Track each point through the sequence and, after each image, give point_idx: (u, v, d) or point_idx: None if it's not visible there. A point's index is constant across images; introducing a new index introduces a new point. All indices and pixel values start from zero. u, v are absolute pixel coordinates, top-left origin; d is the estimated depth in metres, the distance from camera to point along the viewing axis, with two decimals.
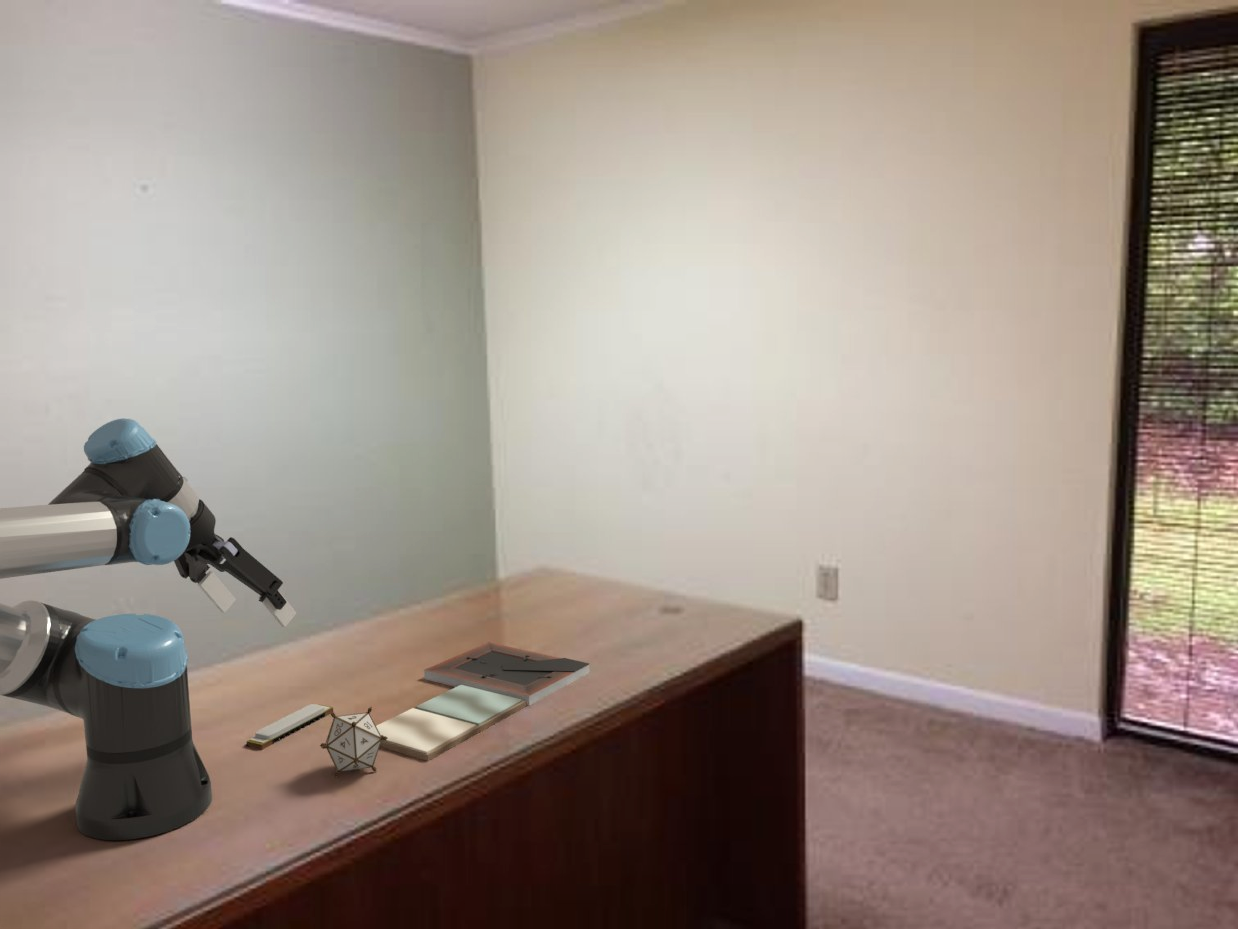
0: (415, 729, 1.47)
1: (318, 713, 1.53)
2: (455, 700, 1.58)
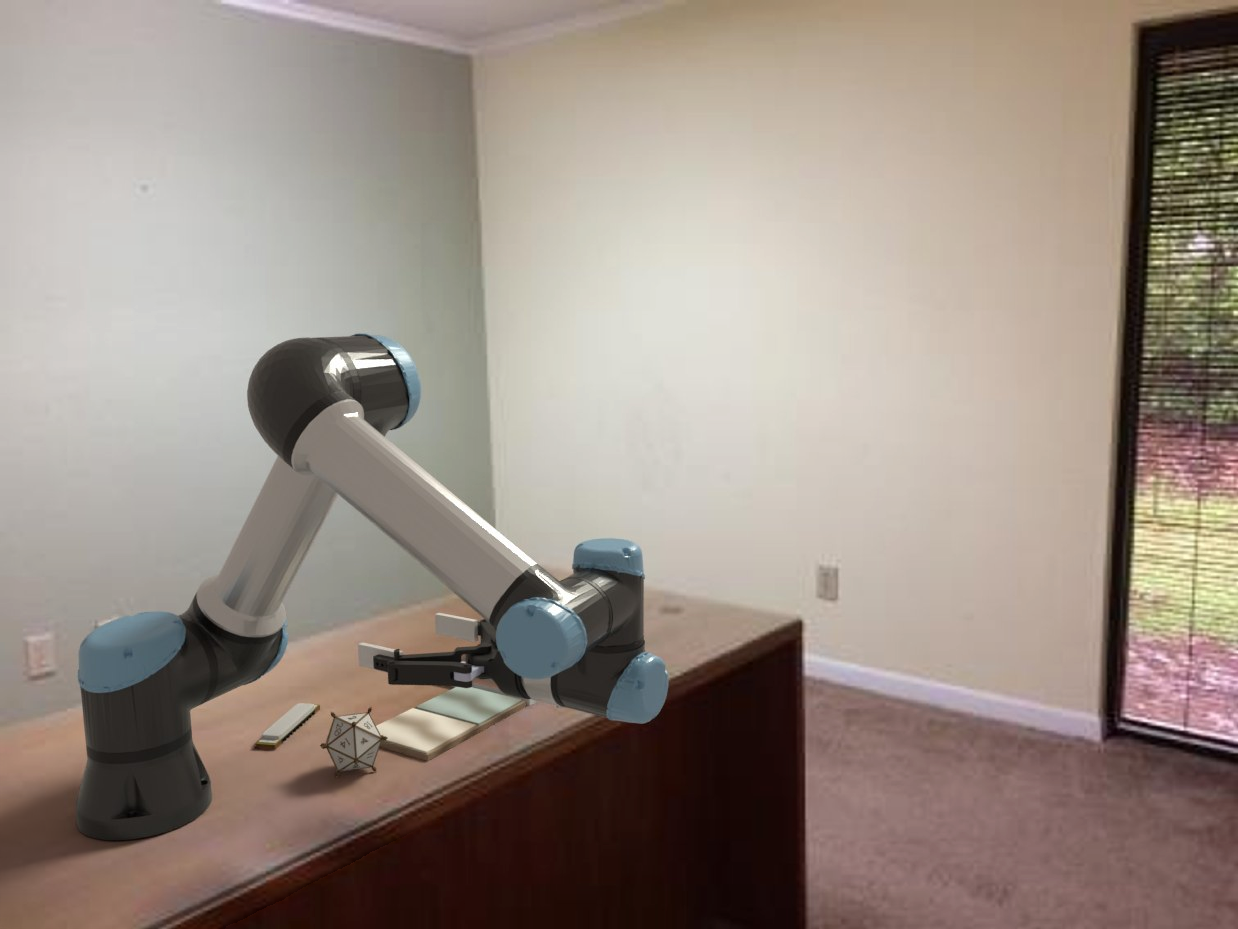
0: (415, 729, 1.47)
1: (310, 711, 1.54)
2: (455, 700, 1.58)
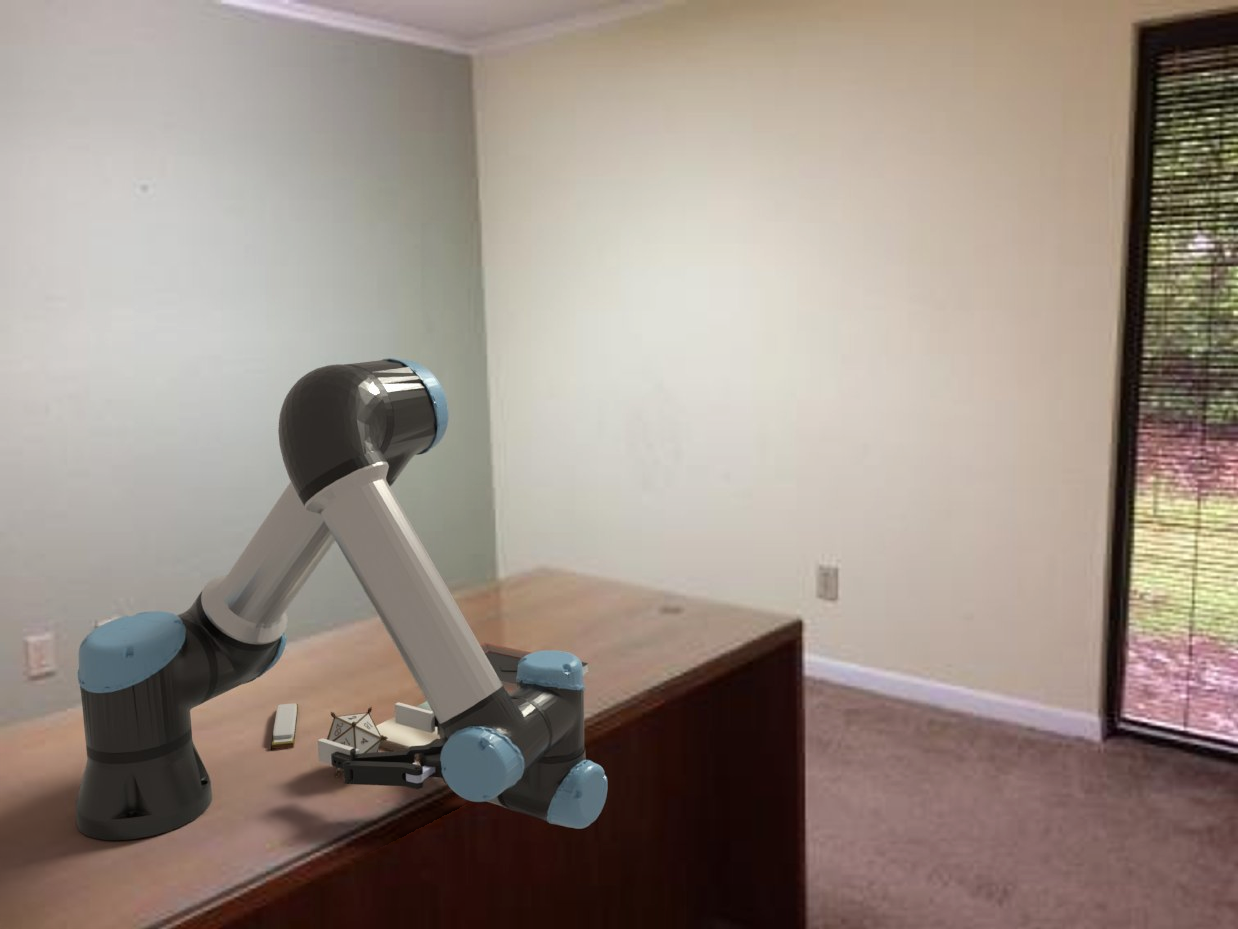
0: (415, 729, 1.47)
1: (296, 710, 1.55)
2: None
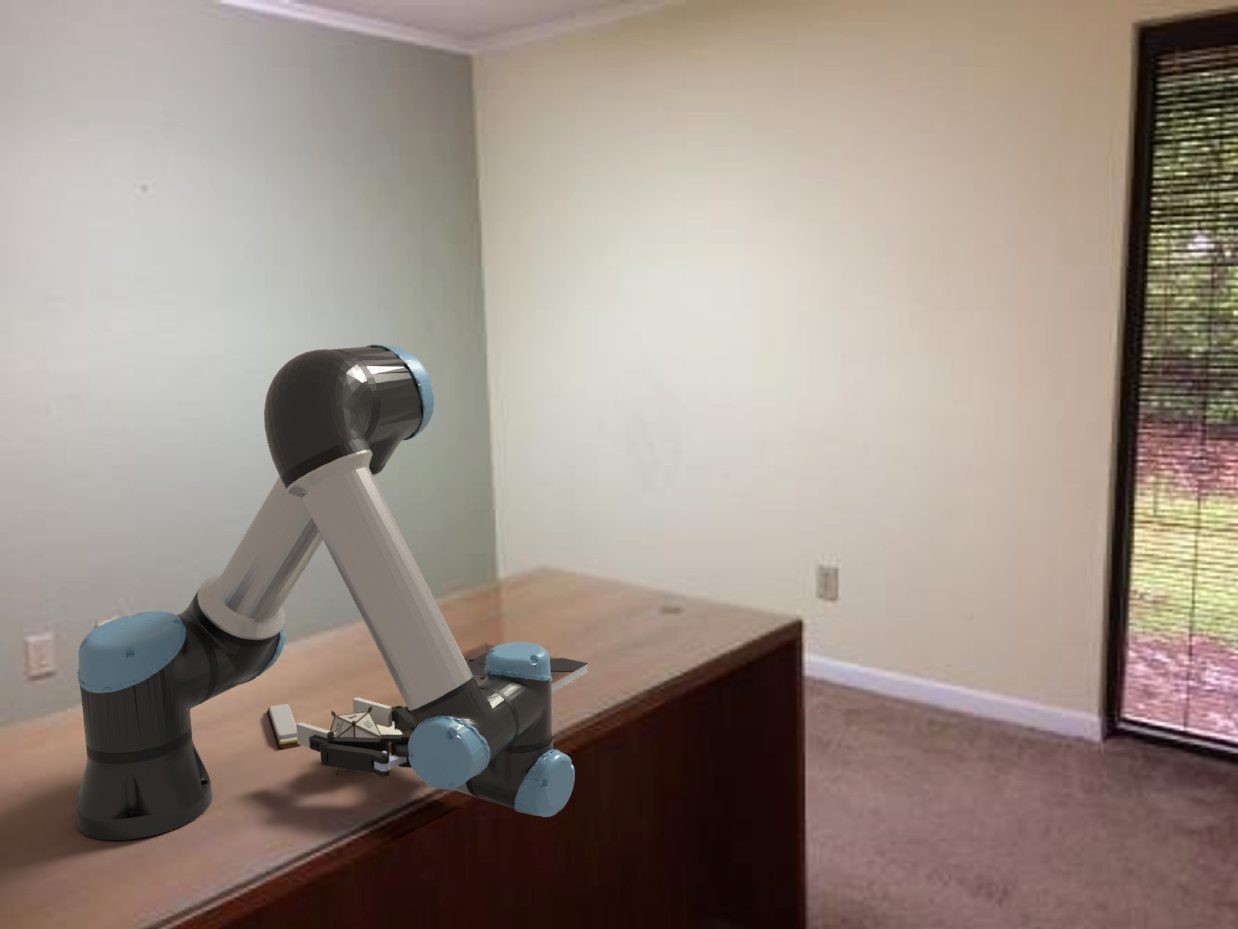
0: None
1: None
2: None
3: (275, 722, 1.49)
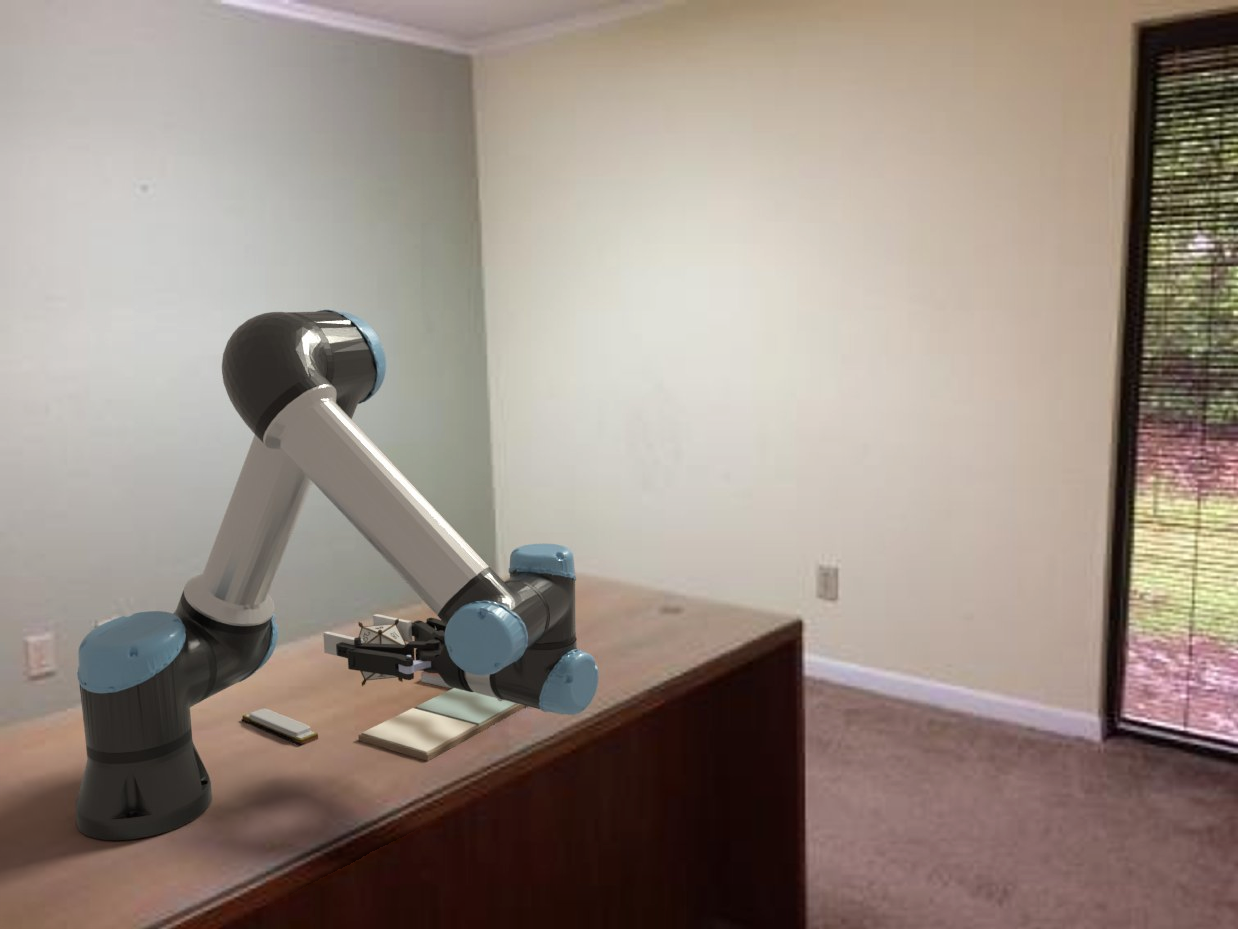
0: (415, 729, 1.47)
1: None
2: (455, 700, 1.58)
3: (275, 723, 1.48)
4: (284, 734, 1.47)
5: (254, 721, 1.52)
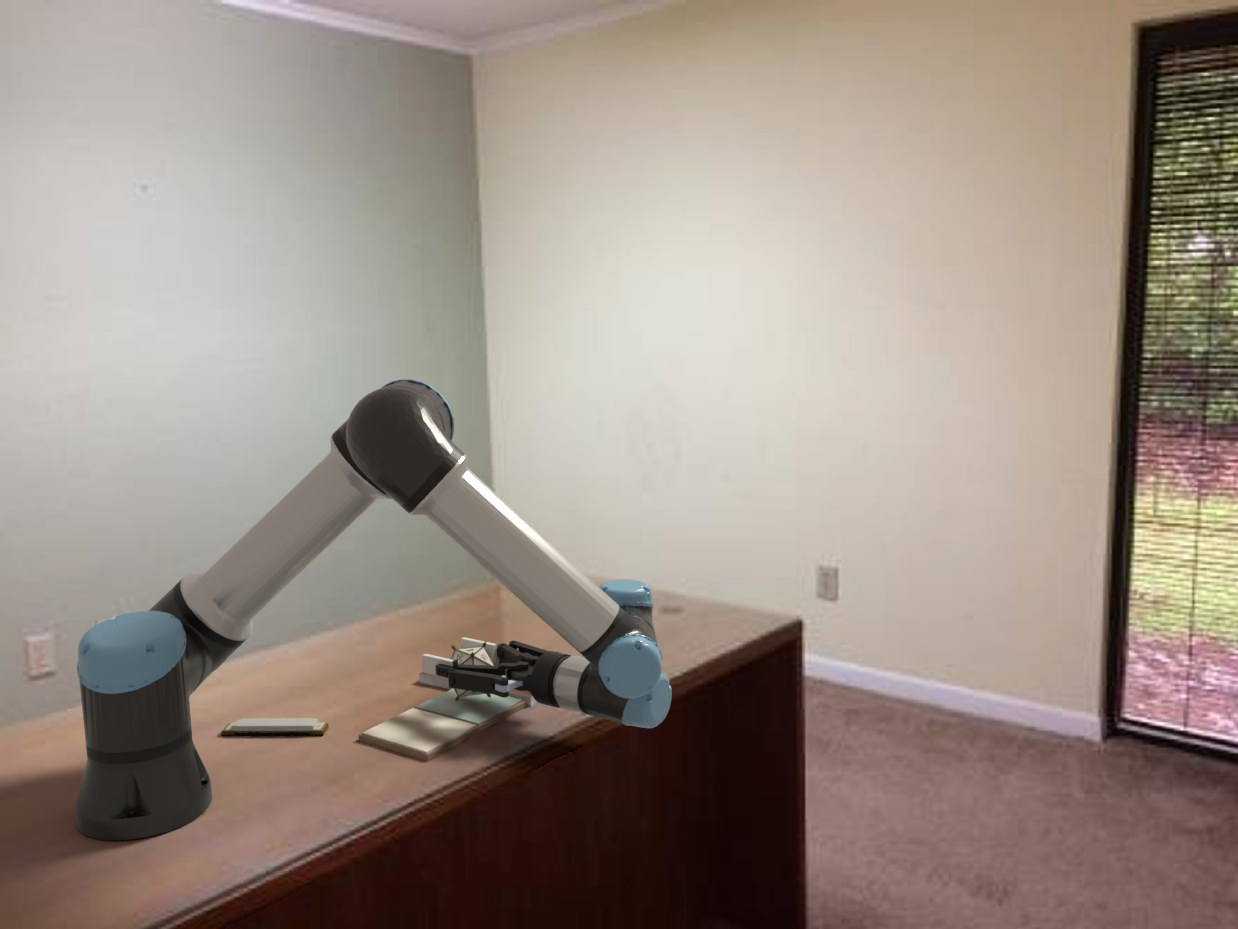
0: (415, 729, 1.47)
1: None
2: (455, 700, 1.58)
3: (279, 725, 1.48)
4: (295, 732, 1.48)
5: (243, 731, 1.48)
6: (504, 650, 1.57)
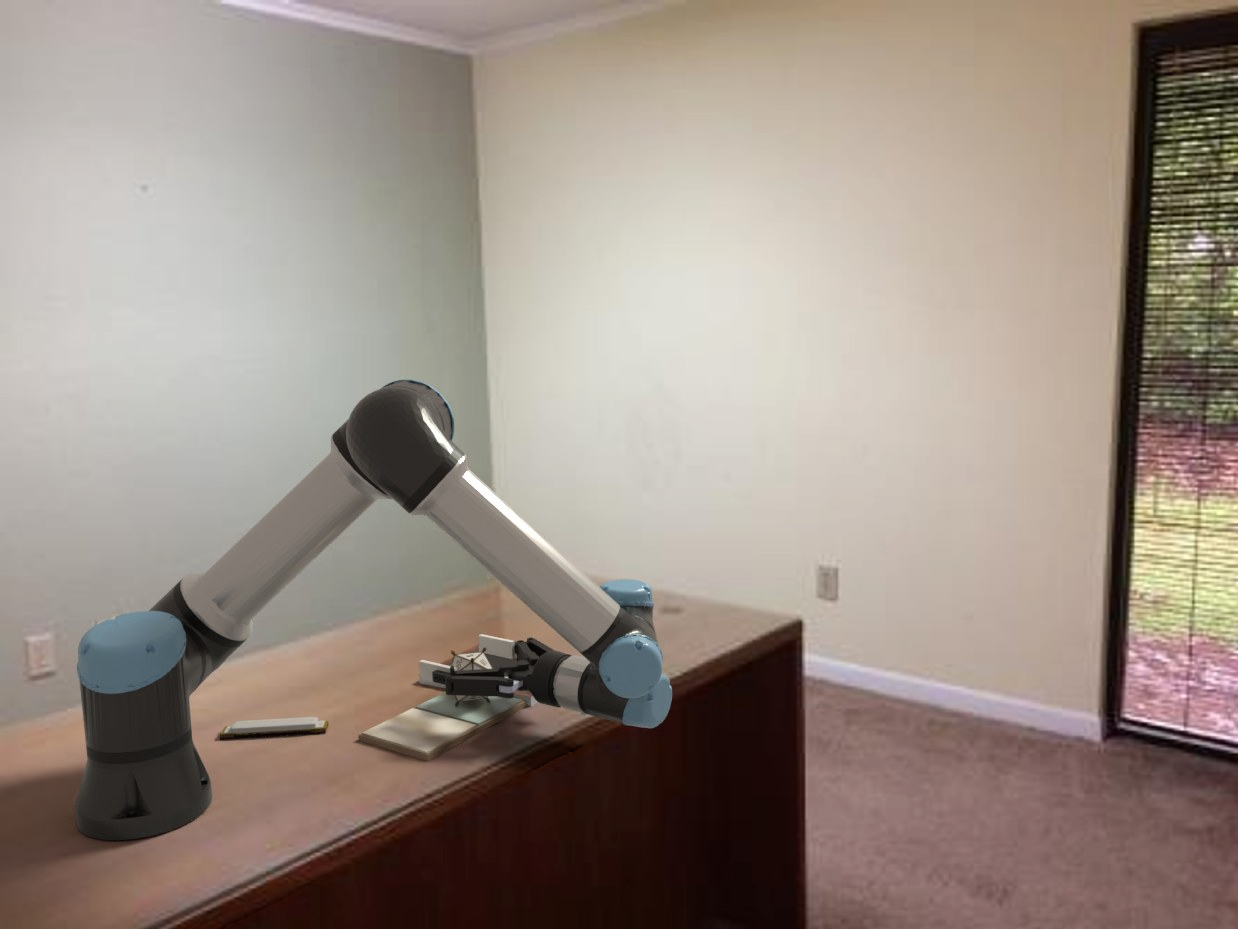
0: (415, 729, 1.47)
1: None
2: (455, 700, 1.58)
3: (280, 725, 1.48)
4: (297, 730, 1.48)
5: (243, 733, 1.47)
6: (518, 647, 1.58)
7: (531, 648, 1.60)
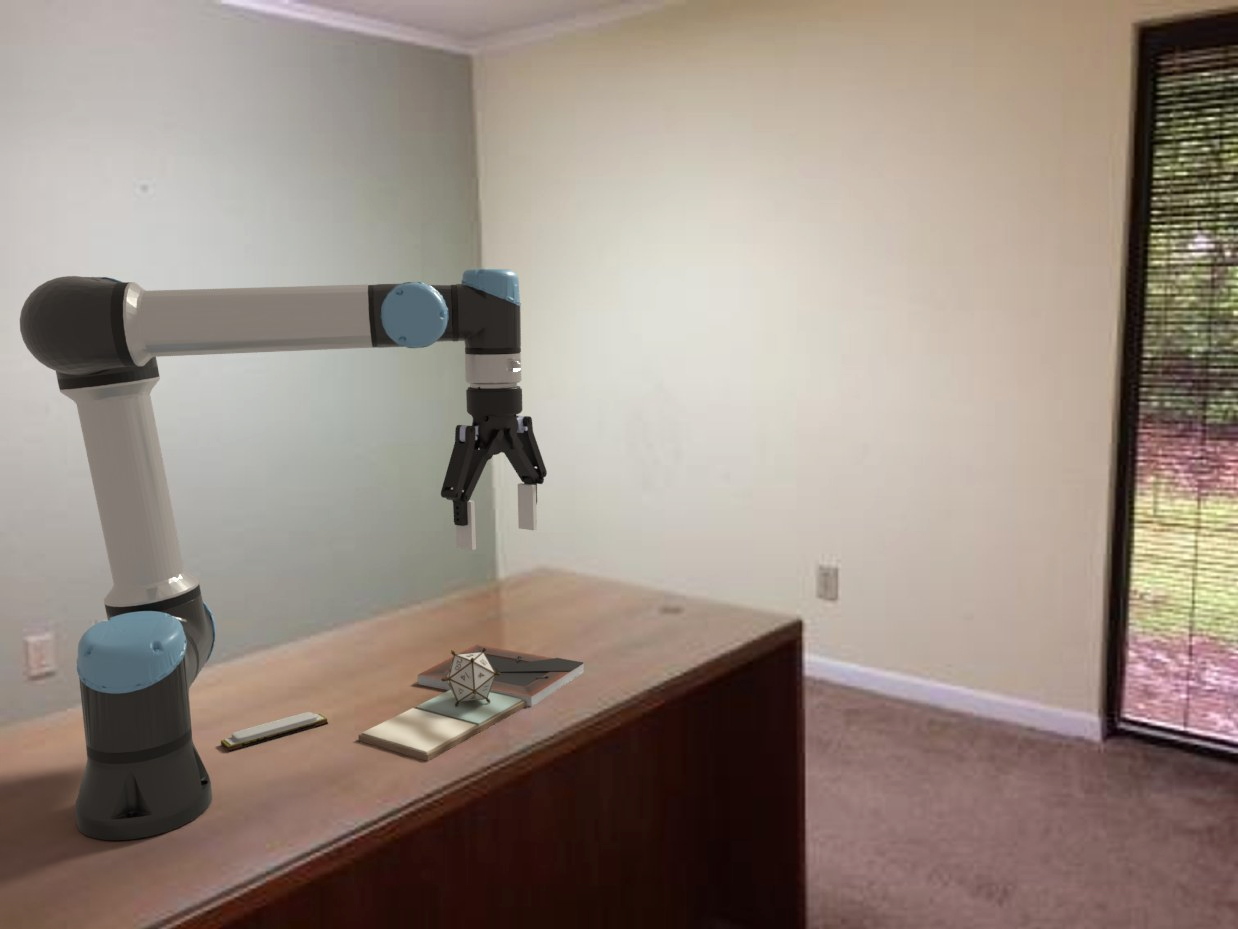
0: (415, 729, 1.47)
1: None
2: (455, 700, 1.58)
3: (285, 724, 1.48)
4: (301, 727, 1.50)
5: (250, 741, 1.45)
6: (518, 473, 1.48)
7: (536, 469, 1.49)
